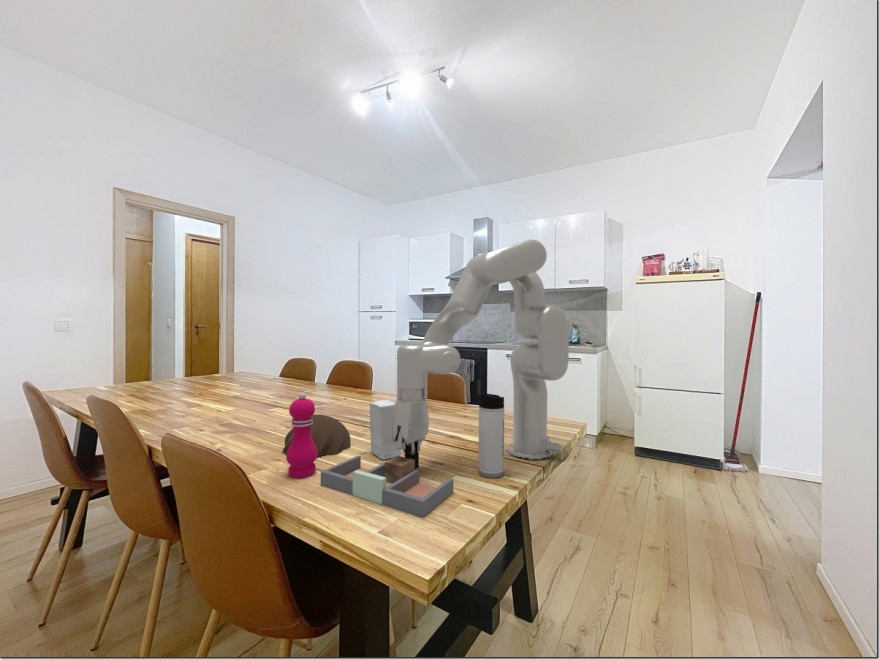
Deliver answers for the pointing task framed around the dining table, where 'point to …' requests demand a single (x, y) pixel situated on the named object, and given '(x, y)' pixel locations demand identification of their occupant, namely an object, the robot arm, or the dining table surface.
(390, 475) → the walnut block
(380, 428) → the skincare box
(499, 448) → the travel mug
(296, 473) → the pepper mill
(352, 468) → the bay rack
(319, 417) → the decorative dome
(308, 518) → the dining table surface
